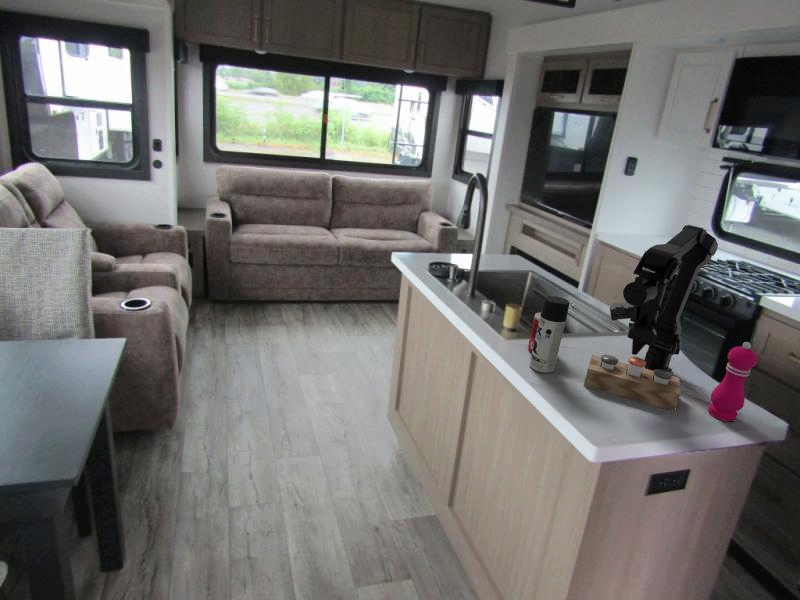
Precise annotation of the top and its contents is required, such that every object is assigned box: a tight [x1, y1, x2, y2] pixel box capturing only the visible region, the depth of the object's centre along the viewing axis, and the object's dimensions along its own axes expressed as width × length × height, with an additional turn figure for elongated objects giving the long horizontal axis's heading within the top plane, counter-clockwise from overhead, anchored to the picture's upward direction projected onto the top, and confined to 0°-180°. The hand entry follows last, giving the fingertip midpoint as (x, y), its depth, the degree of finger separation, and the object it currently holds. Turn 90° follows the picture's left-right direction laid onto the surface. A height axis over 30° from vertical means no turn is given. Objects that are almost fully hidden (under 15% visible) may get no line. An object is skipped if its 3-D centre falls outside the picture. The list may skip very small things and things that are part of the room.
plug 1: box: [600, 354, 619, 370], centre depth 146 cm, size 4×4×7 cm
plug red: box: [627, 356, 646, 378], centre depth 143 cm, size 4×4×7 cm
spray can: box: [529, 295, 571, 374], centre depth 148 cm, size 7×7×20 cm
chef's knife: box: [680, 384, 712, 404], centre depth 148 cm, size 19×1×3 cm
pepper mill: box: [707, 341, 758, 422], centre depth 134 cm, size 7×7×20 cm
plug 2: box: [653, 369, 673, 385], centre depth 141 cm, size 4×4×7 cm
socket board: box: [583, 354, 682, 412], centre depth 144 cm, size 22×10×5 cm, turn 66°
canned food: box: [527, 312, 541, 354], centre depth 160 cm, size 8×8×11 cm
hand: (633, 354), depth 144 cm, fingers closed
